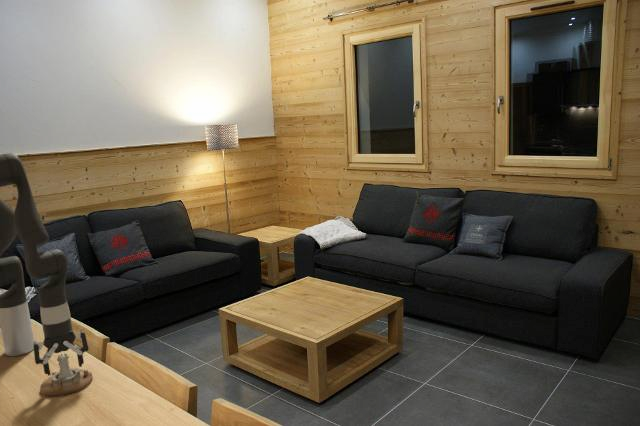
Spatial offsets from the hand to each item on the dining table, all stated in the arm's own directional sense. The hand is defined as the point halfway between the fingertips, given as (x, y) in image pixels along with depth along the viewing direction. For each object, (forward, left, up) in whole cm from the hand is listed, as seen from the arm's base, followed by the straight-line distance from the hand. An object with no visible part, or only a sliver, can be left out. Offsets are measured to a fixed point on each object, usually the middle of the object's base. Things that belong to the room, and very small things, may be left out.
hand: (64, 370), depth 160 cm
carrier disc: (0, 0, -5) cm, 5 cm away
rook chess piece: (0, 0, -4) cm, 4 cm away
